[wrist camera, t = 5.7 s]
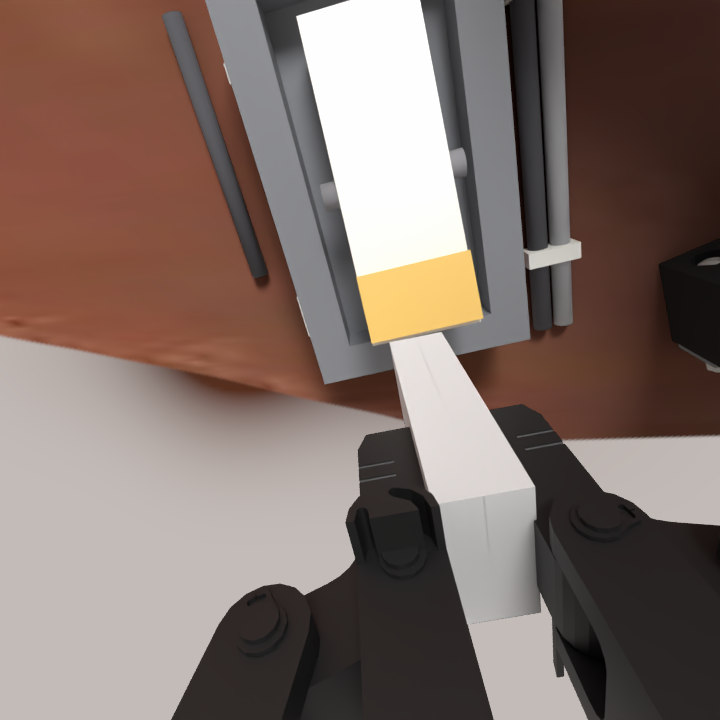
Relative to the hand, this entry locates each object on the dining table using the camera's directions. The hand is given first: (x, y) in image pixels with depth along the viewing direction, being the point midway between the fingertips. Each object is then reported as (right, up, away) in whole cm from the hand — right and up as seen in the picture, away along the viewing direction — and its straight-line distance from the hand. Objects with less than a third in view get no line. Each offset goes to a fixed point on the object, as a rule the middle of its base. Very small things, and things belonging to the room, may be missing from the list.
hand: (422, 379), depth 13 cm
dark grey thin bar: (-10, +12, +13) cm, 21 cm away
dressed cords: (+9, +14, +13) cm, 21 cm away
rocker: (0, +9, +7) cm, 11 cm away
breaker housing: (-1, +12, +14) cm, 18 cm away
